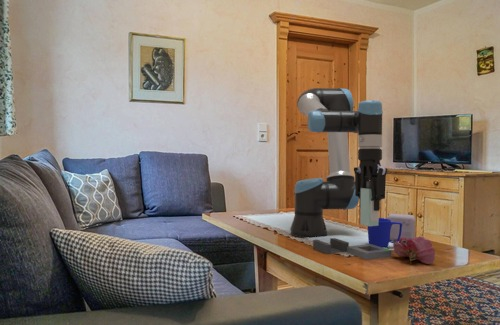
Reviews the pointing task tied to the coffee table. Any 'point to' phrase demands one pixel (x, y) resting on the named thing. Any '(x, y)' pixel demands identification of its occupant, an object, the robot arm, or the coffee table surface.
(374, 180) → the robot arm
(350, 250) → the port
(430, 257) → the flower
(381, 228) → the mug
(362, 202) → the plug
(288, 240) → the coffee table surface
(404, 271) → the coffee table surface
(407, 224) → the electronic device
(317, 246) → the holster
